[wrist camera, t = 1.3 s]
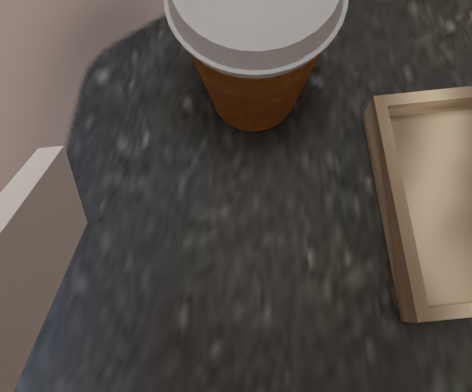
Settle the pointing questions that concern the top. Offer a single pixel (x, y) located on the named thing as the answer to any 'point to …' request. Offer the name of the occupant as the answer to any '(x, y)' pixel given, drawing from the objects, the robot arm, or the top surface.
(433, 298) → the birch tray
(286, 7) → the disposable coffee cup
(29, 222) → the robot arm
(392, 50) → the top surface
